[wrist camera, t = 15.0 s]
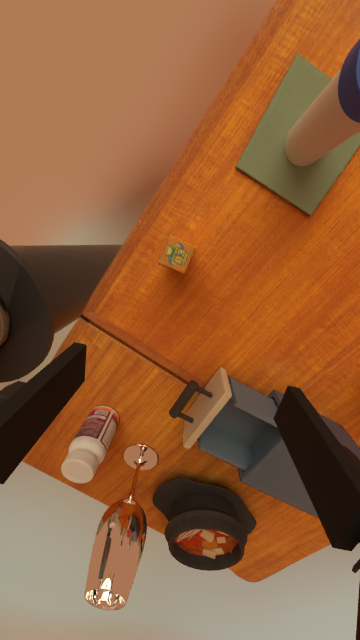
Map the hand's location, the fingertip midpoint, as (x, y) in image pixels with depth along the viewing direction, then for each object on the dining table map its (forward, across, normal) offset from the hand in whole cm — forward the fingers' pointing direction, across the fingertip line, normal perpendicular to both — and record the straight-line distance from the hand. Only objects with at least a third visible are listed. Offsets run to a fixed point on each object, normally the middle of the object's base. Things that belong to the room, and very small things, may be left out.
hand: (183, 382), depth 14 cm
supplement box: (+22, -3, +7) cm, 23 cm away
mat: (+22, +10, +22) cm, 33 cm away
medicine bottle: (+21, +10, +22) cm, 33 cm away
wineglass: (+22, -3, -36) cm, 43 cm away
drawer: (+21, +11, -18) cm, 29 cm away
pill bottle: (+22, -12, -27) cm, 37 cm away
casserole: (+22, +14, -47) cm, 54 cm away
